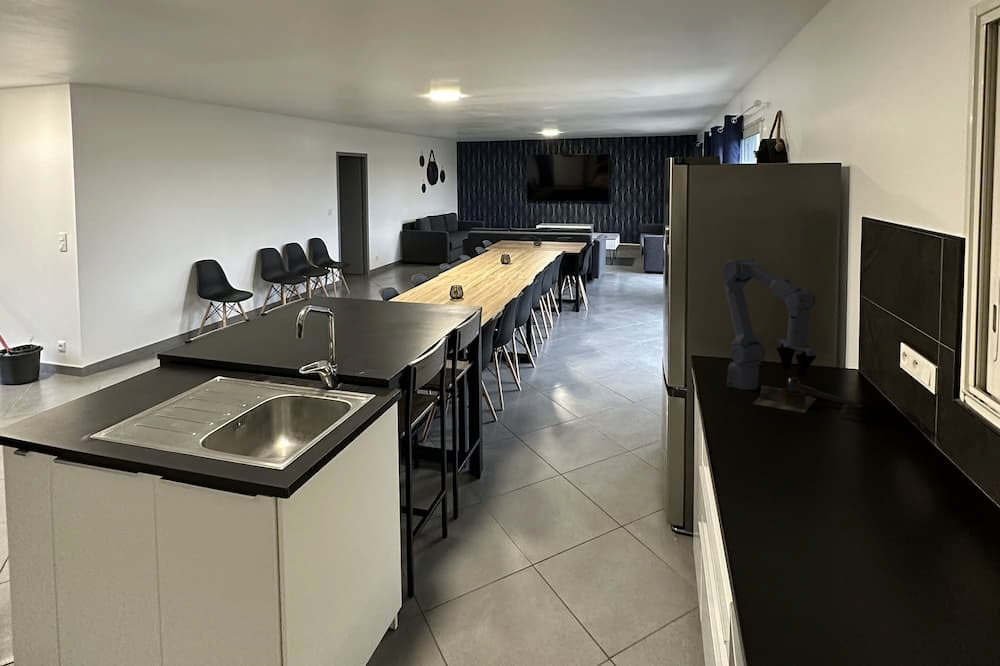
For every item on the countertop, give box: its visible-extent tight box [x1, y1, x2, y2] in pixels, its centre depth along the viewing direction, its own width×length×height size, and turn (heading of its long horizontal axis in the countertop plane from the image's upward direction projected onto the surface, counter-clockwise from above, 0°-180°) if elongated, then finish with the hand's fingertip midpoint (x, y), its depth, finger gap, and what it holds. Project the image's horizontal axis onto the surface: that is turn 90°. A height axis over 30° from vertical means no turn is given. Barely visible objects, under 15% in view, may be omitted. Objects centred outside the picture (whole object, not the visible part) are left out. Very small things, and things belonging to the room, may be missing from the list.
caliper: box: [798, 380, 863, 409], centre depth 201 cm, size 20×1×6 cm, turn 60°
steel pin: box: [786, 376, 800, 394], centre depth 200 cm, size 3×3×8 cm
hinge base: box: [752, 383, 817, 413], centre depth 203 cm, size 15×17×5 cm
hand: (793, 373), depth 200 cm, fingers open, 7 cm apart
